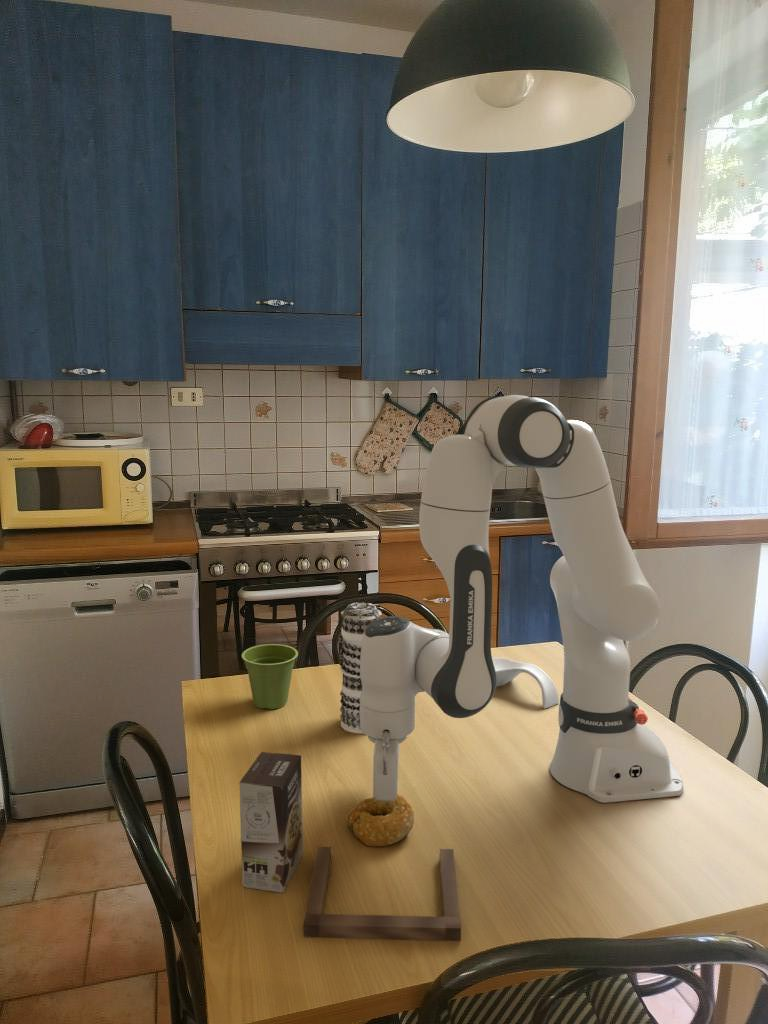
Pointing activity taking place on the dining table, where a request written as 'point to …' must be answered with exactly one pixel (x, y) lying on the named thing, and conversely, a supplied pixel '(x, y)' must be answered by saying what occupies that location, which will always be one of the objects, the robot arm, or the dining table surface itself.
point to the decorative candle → (353, 660)
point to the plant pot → (270, 673)
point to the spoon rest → (511, 669)
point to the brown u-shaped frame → (382, 924)
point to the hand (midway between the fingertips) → (387, 795)
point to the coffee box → (271, 821)
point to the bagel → (381, 821)
